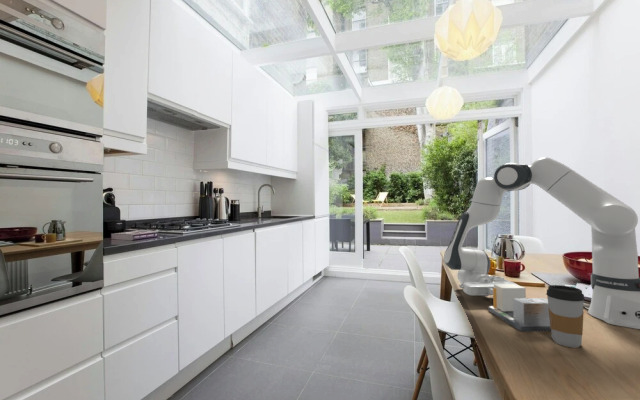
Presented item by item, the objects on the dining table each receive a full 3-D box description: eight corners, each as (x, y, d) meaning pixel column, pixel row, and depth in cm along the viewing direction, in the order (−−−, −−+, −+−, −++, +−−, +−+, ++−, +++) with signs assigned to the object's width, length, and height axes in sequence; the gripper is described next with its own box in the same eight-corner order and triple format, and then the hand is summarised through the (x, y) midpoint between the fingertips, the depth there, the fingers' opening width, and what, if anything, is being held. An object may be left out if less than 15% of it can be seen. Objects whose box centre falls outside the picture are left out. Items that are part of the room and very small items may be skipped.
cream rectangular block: (489, 305, 109) (488, 283, 109) (515, 305, 109) (514, 283, 109) (498, 311, 103) (497, 288, 103) (526, 311, 103) (525, 288, 103)
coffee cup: (548, 333, 89) (546, 283, 89) (585, 341, 84) (583, 287, 84) (547, 343, 82) (545, 289, 83) (587, 352, 77) (585, 294, 77)
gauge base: (488, 310, 108) (487, 287, 109) (521, 310, 108) (520, 287, 108) (520, 331, 90) (520, 303, 91) (560, 331, 90) (559, 303, 91)
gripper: (456, 277, 124) (473, 286, 110) (506, 276, 124) (528, 285, 110) (457, 292, 124) (474, 303, 110) (506, 291, 124) (529, 302, 110)
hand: (501, 294), depth 110 cm, fingers closed
